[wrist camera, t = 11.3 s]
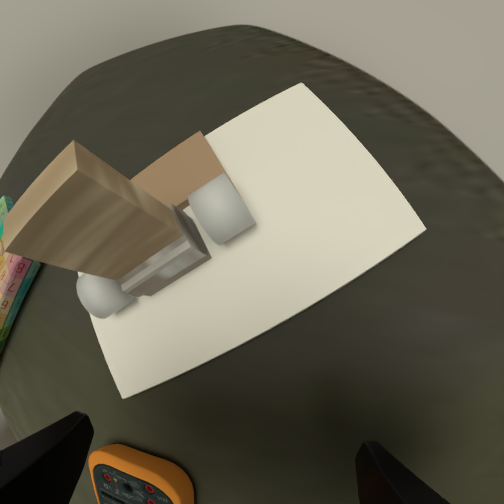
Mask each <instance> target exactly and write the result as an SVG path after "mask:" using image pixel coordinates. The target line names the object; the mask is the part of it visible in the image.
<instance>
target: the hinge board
mask: <svg viewBox="0 0 504 504" xmlns="http://www.w3.org/2000/svg"><path fill="white" fill-rule="evenodd" d="M130 181H131V182H133V183H134V184H136V185H137V186H139V187H140V188H141V189H143V190H144V191H146V192H147V193H148V194H150V195H151V196H153V197H154V198H155V199H157V200H158V201H160V202H161V203H162V204H164V205H165V206H167V205H169V204H170V203H172V204H173V205H174V206H177V207H179V208H181V209H182V210H183V211H184V212H185V213H186V214H187V215H188V216H189V217H191V218H192V219H193V220H194V222H195V224H196V226H197V228H198V230H199V233H200V235H201V237H202V239H203V241H204V243H205V245H206V247H207V249H208V251H209V253H210V255H211V257H212V258H211V259H210V260H208V261H206V262H205V263H203V264H202V265H200V266H198V267H197V268H195V269H193V270H192V271H190V272H189V273H187V274H185V275H184V276H182V277H181V278H179V279H177V280H176V281H174V282H173V283H171V284H169V285H168V286H166V287H165V288H163V289H161V290H160V291H158V292H157V293H155V294H154V295H152V296H145V295H143V296H141V297H136V296H133V295H131V294H129V293H128V292H123V291H122V288H121V285H120V284H119V283H118V281H116V280H112V279H107V278H103V277H99V276H95V275H90V274H86V273H82V272H78V275H79V278H78V281H77V293H78V296H79V299H80V301H81V303H82V304H83V306H84V307H85V308H86V310H87V311H88V312H89V314H90V317H91V320H92V323H93V326H94V329H95V332H96V335H97V337H98V340H99V343H100V346H101V348H102V351H103V354H104V356H105V359H106V361H107V364H108V366H109V369H110V371H111V374H112V376H113V378H114V381H115V383H116V385H117V388H118V390H119V392H120V394H121V396H122V399H125V398H128V397H131V396H133V395H136V394H138V393H141V392H143V391H145V390H148V389H150V388H152V387H154V386H157V385H159V384H161V383H164V382H166V381H168V380H170V379H172V378H175V377H177V376H179V375H181V374H183V373H185V372H188V371H190V370H192V369H194V368H196V367H198V366H200V365H202V364H204V363H206V362H208V361H210V360H212V359H214V358H216V357H218V356H220V355H222V354H224V353H226V352H228V351H230V350H232V349H234V348H236V347H238V346H240V345H242V344H244V343H246V342H248V341H249V340H251V339H253V338H255V337H257V336H259V335H261V334H263V333H264V332H266V331H268V330H270V329H272V328H273V327H275V326H277V325H279V324H281V323H282V322H284V321H286V320H288V319H289V318H291V317H293V316H295V315H296V314H298V313H300V312H302V311H303V310H305V309H307V308H308V307H310V306H312V305H314V304H315V303H317V302H319V301H320V300H322V299H324V298H325V297H327V296H328V295H330V294H332V293H333V292H335V291H337V290H338V289H340V288H341V287H343V286H345V285H346V284H348V283H349V282H351V281H353V280H354V279H356V278H357V277H359V276H360V275H362V274H363V273H365V272H367V271H368V270H370V269H371V268H373V267H374V266H376V265H377V264H379V263H380V262H382V261H383V260H385V259H386V258H388V257H389V256H391V255H392V254H393V253H395V252H396V251H398V250H399V249H401V248H402V247H404V246H405V245H406V244H408V243H409V242H411V241H412V240H413V239H415V238H416V237H418V236H419V235H420V234H422V233H423V232H424V231H425V230H426V228H425V226H424V225H423V223H422V222H421V220H420V219H419V217H418V216H417V214H416V213H415V212H414V210H413V209H412V207H411V206H410V204H409V203H408V202H407V200H406V199H405V198H404V196H403V195H402V193H401V192H400V191H399V189H398V188H397V187H396V185H395V184H394V183H393V182H392V180H391V179H390V178H389V176H388V175H387V174H386V173H385V171H384V170H383V169H382V168H381V166H380V165H379V164H378V163H377V161H376V160H375V159H374V158H373V157H372V155H371V154H370V153H369V152H368V151H367V150H366V148H365V147H364V146H363V145H362V144H361V143H360V142H359V140H358V139H357V138H356V137H355V136H354V135H353V134H352V133H351V132H350V130H349V129H348V128H347V127H346V126H345V125H344V124H343V123H342V122H341V121H340V120H339V119H338V118H337V117H336V116H335V115H334V114H333V113H332V111H331V110H330V109H329V108H328V107H327V106H326V105H325V104H324V103H323V102H322V101H320V100H319V99H318V98H317V97H316V96H315V95H314V94H313V93H312V92H311V91H310V90H309V89H308V88H307V87H306V86H305V85H304V84H303V83H300V84H297V85H295V86H293V87H291V88H289V89H287V90H285V91H283V92H281V93H279V94H278V95H276V96H274V97H272V98H270V99H268V100H266V101H264V102H262V103H261V104H259V105H257V106H255V107H253V108H251V109H250V110H248V111H246V112H244V113H243V114H241V115H239V116H237V117H236V118H234V119H232V120H231V121H229V122H227V123H226V124H224V125H222V126H221V127H219V128H217V129H216V130H214V131H212V132H211V133H209V134H208V135H206V136H205V137H204V136H203V134H202V133H201V131H199V132H197V133H196V134H194V135H193V136H191V137H190V138H188V139H187V140H185V141H184V142H182V143H181V144H179V145H178V146H176V147H175V148H173V149H172V150H171V151H169V152H168V153H166V154H165V155H163V156H162V157H161V158H159V159H158V160H156V161H155V162H154V163H152V164H151V165H150V166H148V167H147V168H146V169H144V170H143V171H142V172H140V173H139V174H138V175H136V176H135V177H134V178H132V179H131V180H130Z"/></svg>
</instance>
